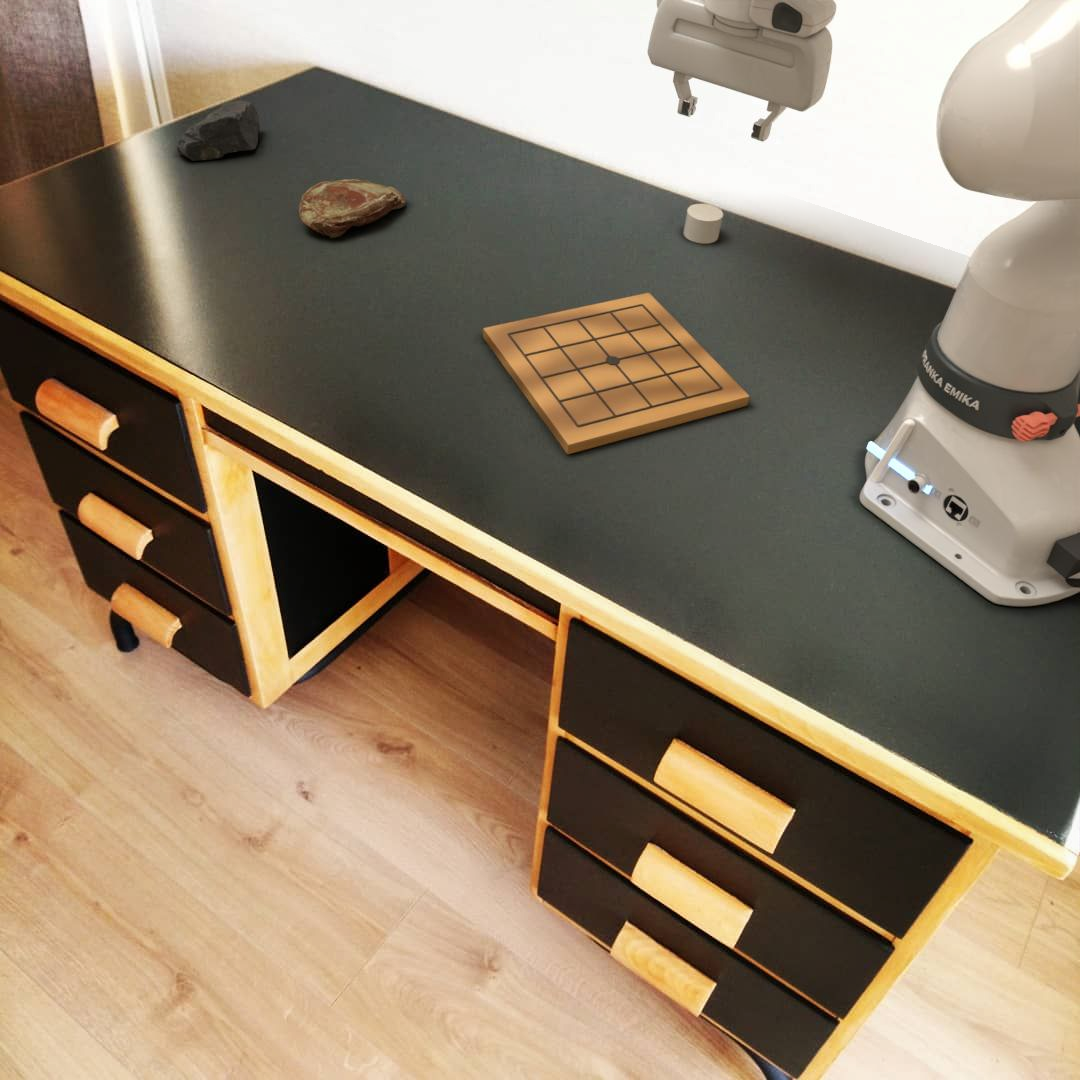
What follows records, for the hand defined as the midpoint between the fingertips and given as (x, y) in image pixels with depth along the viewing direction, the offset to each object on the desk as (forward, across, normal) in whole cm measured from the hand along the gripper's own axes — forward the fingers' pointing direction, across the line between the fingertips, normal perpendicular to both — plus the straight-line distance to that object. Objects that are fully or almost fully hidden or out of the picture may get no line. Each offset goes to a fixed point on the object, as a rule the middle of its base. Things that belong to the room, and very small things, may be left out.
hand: (722, 126), depth 107 cm
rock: (+14, -61, -22) cm, 66 cm away
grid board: (+13, +6, -31) cm, 35 cm away
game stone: (+13, 0, 0) cm, 13 cm away
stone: (+14, -36, -24) cm, 45 cm away
